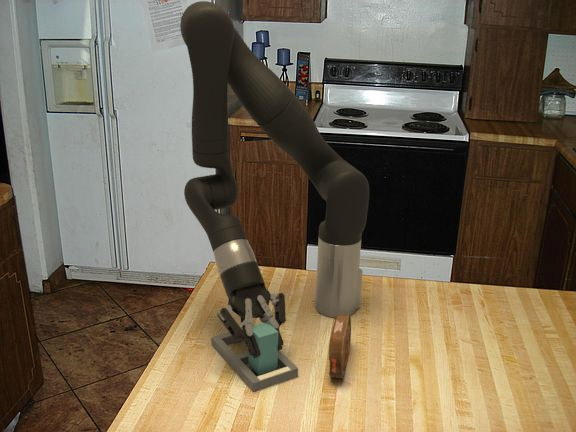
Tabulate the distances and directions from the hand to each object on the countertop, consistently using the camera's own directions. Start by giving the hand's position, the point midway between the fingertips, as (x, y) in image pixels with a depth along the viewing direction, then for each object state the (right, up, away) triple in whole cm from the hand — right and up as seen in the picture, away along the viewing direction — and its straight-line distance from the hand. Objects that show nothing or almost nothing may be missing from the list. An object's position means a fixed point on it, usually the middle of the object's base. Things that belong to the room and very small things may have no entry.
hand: (268, 352), depth 116 cm
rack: (-3, -3, +6) cm, 8 cm away
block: (-1, -3, +3) cm, 5 cm away
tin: (+13, -4, +6) cm, 15 cm away
